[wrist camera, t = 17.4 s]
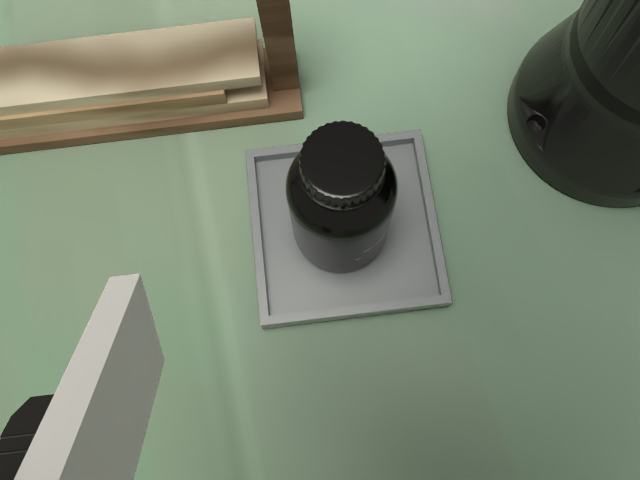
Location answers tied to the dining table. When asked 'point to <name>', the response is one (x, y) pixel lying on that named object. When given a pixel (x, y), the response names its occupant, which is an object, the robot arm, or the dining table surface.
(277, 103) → the walnut rack
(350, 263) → the supplement bottle
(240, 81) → the offcut stack
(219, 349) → the dining table surface
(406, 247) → the grey tray
